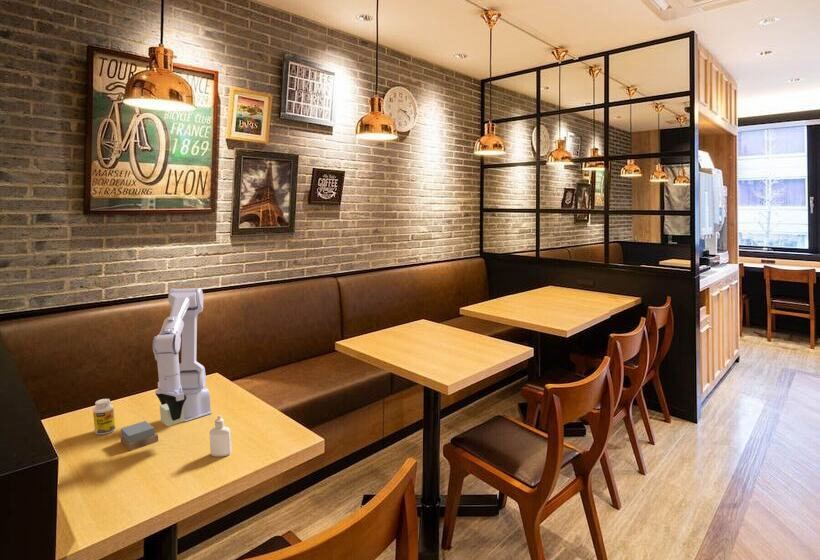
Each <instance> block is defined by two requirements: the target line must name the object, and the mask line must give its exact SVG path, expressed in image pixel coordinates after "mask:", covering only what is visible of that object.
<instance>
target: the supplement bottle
mask: <svg viewBox="0 0 820 560" xmlns="http://www.w3.org/2000/svg"><path fill="white" fill-rule="evenodd" d="M94 405H95V407H94V408H93V409H92V413H93V415H92V416H93V424H94V432H95V434H96V435H99V436H100V435H107V434H110V433H112V432H114V431H115V430H116V417H115V409H114V408H115V407H114V405H113V404H111V400H110V398H102V399H98V400H96V401H95V404H94Z"/></svg>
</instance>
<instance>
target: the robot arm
mask: <svg viewBox="0 0 820 560" xmlns="http://www.w3.org/2000/svg"><path fill="white" fill-rule="evenodd" d="M167 299H168V304H169V305H170V308H171V309H170V313H169V316H167V317H166V318H165V319H164V321H163V323H162V326H161V329H160V331H159V334H157V335H156V336H154V337H153V340H152V352H153V354H154V360H155V361H156V362H157V363H156V364H157V373H158V374H157V375H158V382H157V389H155V396H156V398H158V400H159V402H160V405H163V404H166V403H167V405H168V407H169V410H170V414H171V418H172V420H173V421H174V420H177V419H180V417H181V412H182V407H183V405H184V418H185V421H183V422H189V421H191V420H195V419H198V418H202V417H204V416H207V415H210V414H212V413H213V412H212V408H211V407H212V406H211V394H210V390H209V389H208V387H206V385H207V384H206V383H207V375H206V368H205V366H204V365H203V364H201V363H200V362H198V360H197V354H198V353H197V345H198V344H197V343H198V342H197V337H198V315H199V314H200V313H202V312H203V310H204V292H203V290H202V288H201V287H196V288H195V287H194V288H193V287H192V288H190V287H187V288H173V287H172V288H171V289H170V290H169V291H168V296H167ZM180 351H181V362H180V361H179V360H180V359H179V358H180V357H179V352H180Z"/></svg>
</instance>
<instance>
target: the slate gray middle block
mask: <svg viewBox="0 0 820 560" xmlns="http://www.w3.org/2000/svg"><path fill="white" fill-rule="evenodd" d="M154 432H155V427H154V426H152V425H151V423H149V422H148V421H146V420H144V421H141V422H137V423H134V424H131V425H127V426H124V427H121V428H120V434H121V435H122V437H123V438H124V439H125V440H126V441H127V442H128V443H129V444H131V443H134V442H137V441H140V440H143V439H146V438H149V437H152V436H155V433H156V432H155V433H154ZM121 435H120V436H121Z"/></svg>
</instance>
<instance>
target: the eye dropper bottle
mask: <svg viewBox="0 0 820 560" xmlns="http://www.w3.org/2000/svg"><path fill="white" fill-rule="evenodd" d="M231 433H232V432H231V429H230V427H228V426H225V421H224V418H222V417H221V414H218V415H217V418H216V419H214V427H212V428H211V429H210V430H209V446H210V447H209V449H210V455H211V456H212V457H215V458H216V457H217V458H218V457H219V458H220V457H226V456H227V457H228V456H229V455H231V454H232V449H233V448H232V434H231Z"/></svg>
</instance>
